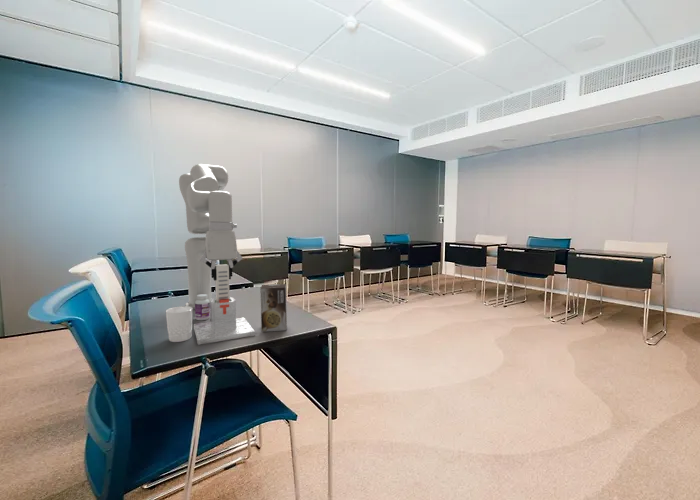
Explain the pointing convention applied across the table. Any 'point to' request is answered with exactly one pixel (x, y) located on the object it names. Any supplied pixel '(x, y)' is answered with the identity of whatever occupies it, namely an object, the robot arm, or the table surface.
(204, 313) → the pill bottle
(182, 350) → the table surface
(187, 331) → the white cup
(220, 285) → the column
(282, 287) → the coffee box
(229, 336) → the stand
